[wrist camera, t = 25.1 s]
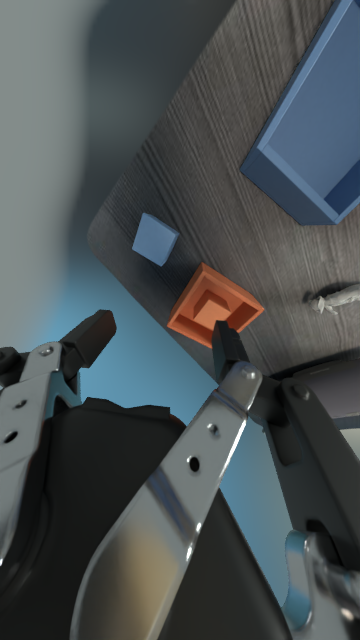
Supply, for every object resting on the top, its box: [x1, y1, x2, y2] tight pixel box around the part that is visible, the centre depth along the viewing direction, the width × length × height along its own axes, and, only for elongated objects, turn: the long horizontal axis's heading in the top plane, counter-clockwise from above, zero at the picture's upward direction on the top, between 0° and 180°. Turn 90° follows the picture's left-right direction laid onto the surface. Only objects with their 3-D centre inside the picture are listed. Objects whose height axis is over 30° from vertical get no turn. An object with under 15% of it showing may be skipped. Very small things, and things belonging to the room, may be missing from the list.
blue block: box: [132, 213, 179, 266], centre depth 19 cm, size 4×4×4 cm
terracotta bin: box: [167, 262, 264, 349], centre depth 24 cm, size 11×11×6 cm
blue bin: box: [240, 0, 360, 226], centre depth 12 cm, size 11×11×6 cm
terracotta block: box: [193, 289, 231, 330], centre depth 24 cm, size 4×4×4 cm
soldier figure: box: [309, 284, 360, 314], centre depth 21 cm, size 8×5×12 cm
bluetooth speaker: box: [280, 358, 360, 418], centre depth 30 cm, size 23×9×10 cm, turn 132°
